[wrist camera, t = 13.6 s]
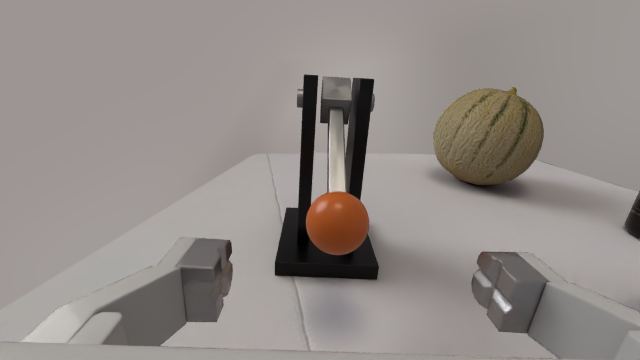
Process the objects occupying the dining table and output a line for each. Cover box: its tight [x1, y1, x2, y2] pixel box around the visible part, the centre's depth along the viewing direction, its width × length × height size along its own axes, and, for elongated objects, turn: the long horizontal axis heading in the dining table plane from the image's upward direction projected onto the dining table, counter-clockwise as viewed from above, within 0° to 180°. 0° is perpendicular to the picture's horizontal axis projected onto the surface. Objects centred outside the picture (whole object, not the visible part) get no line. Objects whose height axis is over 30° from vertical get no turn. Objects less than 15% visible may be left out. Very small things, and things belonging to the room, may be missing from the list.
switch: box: [306, 76, 369, 255], centre depth 20 cm, size 14×4×4 cm
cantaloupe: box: [433, 87, 544, 185], centre depth 46 cm, size 15×15×15 cm
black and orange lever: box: [275, 75, 379, 279], centre depth 26 cm, size 10×8×15 cm
